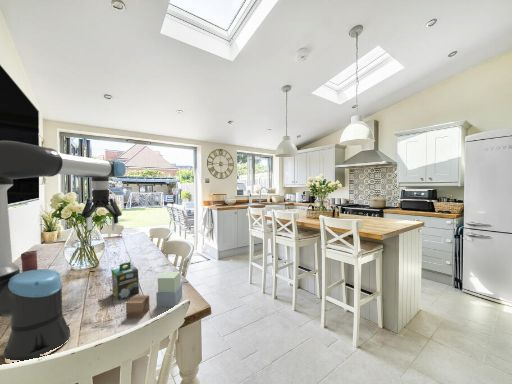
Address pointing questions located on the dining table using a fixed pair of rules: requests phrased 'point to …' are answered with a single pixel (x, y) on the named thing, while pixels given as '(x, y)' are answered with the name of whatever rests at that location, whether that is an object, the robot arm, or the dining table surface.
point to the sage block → (169, 282)
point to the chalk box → (125, 281)
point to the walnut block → (137, 306)
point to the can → (29, 261)
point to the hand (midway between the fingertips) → (101, 229)
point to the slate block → (169, 298)
